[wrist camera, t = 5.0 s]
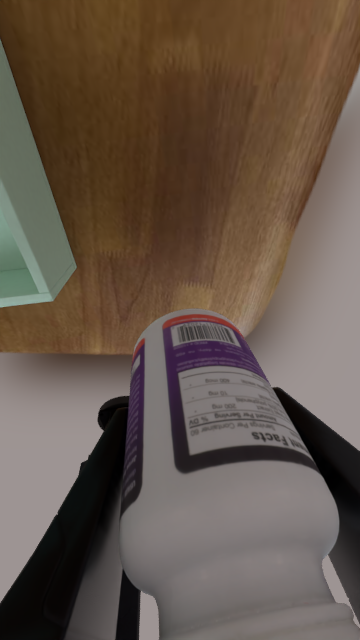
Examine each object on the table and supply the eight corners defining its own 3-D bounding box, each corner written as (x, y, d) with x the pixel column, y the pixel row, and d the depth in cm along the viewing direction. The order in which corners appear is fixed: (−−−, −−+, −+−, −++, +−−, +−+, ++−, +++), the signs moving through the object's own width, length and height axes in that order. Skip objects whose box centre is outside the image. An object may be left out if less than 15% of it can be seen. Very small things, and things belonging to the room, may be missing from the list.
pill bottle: (182, 402, 14) (230, 746, 6) (109, 353, 11) (0, 862, 3) (261, 351, 12) (490, 725, 4) (198, 280, 10) (480, 930, 1)
